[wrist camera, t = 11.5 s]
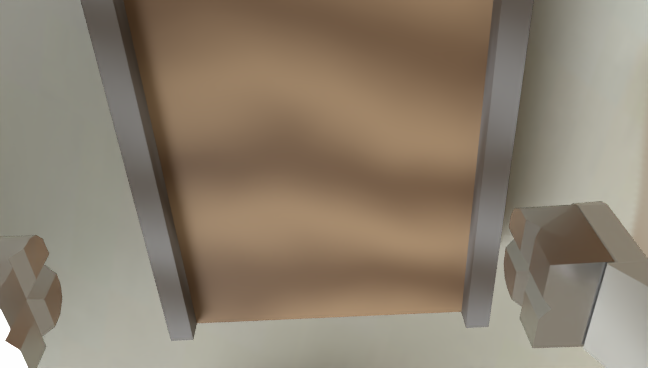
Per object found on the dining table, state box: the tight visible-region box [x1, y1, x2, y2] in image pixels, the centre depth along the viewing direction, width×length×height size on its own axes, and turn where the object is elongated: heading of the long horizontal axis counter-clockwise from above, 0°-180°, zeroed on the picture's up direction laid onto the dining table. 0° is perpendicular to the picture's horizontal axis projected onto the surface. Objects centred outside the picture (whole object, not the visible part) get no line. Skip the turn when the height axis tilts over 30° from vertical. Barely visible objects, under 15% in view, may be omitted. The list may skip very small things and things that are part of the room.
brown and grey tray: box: [81, 0, 534, 341], centre depth 30 cm, size 18×17×5 cm
